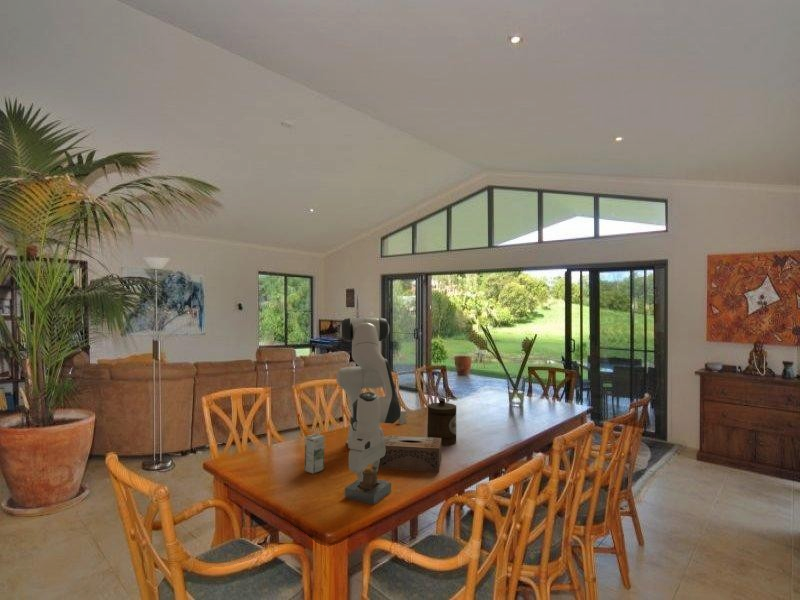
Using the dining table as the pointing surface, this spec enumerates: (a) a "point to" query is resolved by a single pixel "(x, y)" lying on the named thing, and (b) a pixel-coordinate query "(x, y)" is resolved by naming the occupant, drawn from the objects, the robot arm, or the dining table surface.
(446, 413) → the wooden container
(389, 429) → the dining table surface
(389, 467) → the tissue box cover
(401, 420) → the architectural model
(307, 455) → the syrup box
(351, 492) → the grey square socket base
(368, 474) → the brown block with knob
